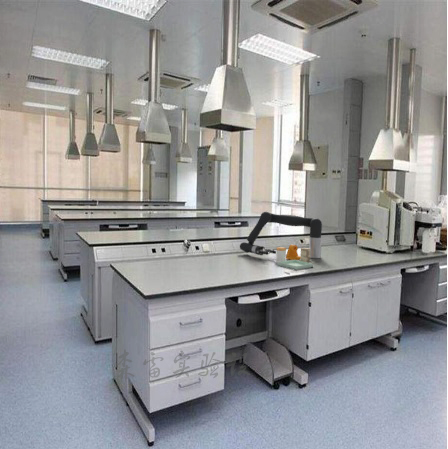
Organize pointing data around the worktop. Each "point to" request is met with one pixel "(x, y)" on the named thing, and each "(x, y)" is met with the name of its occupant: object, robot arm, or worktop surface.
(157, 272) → the worktop surface
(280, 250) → the labelled box
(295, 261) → the tray
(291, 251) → the bracket
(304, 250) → the plain box
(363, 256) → the worktop surface
